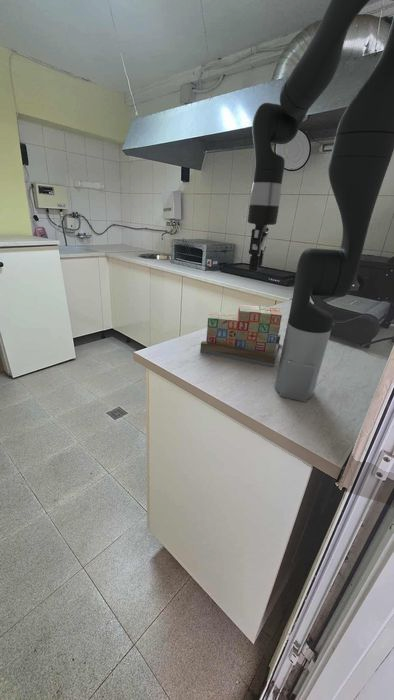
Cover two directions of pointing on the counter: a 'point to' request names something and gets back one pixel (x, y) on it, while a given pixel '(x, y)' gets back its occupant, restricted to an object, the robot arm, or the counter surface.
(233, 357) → the tray
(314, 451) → the counter surface
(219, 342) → the stack of blocks
